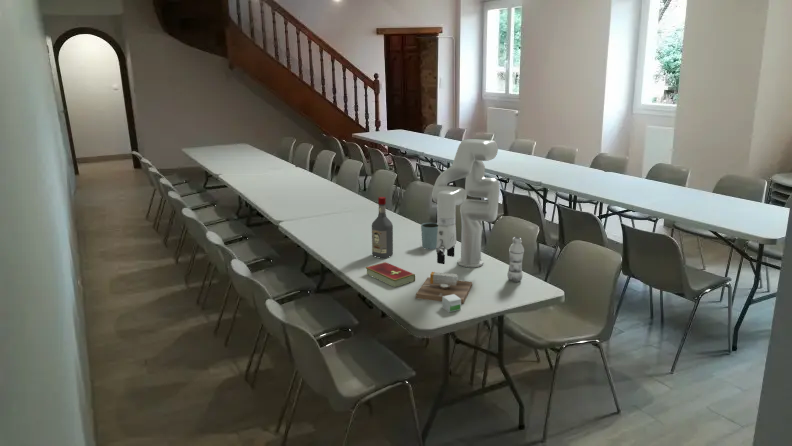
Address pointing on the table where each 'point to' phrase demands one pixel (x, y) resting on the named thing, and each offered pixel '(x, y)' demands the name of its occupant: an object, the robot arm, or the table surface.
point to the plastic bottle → (515, 260)
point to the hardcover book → (390, 274)
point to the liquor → (382, 233)
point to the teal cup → (429, 235)
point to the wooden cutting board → (443, 291)
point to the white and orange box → (443, 279)
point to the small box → (451, 303)
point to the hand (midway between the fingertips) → (445, 259)
